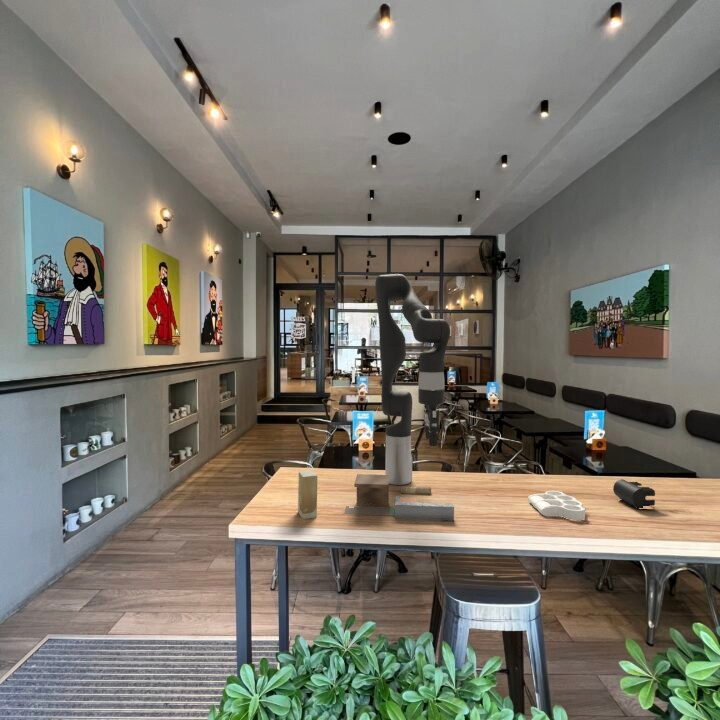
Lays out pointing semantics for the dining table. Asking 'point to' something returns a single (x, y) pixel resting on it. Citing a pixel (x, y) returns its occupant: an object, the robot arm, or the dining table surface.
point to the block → (408, 500)
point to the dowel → (416, 490)
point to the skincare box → (307, 494)
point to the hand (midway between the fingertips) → (431, 442)
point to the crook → (423, 510)
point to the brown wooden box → (372, 489)
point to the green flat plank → (370, 510)
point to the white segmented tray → (558, 505)
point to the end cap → (633, 493)
